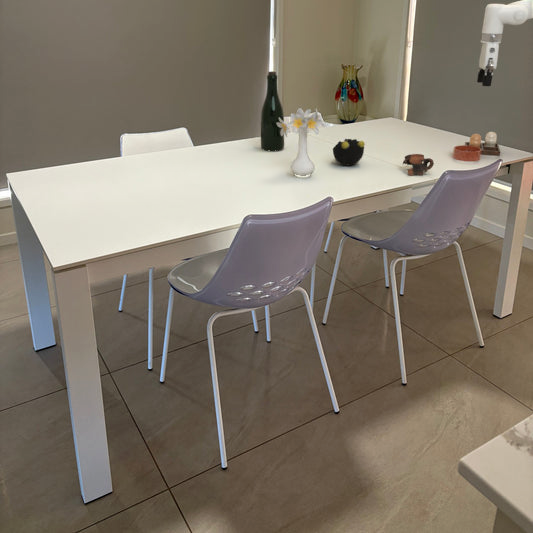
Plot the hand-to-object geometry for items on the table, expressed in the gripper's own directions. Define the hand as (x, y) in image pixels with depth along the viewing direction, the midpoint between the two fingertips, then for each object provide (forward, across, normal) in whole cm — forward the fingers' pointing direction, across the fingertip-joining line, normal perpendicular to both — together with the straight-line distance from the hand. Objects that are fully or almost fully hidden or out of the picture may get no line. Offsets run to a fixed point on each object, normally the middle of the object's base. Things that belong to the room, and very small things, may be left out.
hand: (483, 84), depth 235 cm
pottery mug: (+30, -27, +26) cm, 48 cm away
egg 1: (+28, +4, -1) cm, 29 cm away
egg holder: (+29, +7, -5) cm, 30 cm away
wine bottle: (+31, +5, +85) cm, 91 cm away
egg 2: (+29, +9, -9) cm, 31 cm away
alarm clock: (+30, -17, +52) cm, 63 cm away
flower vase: (+31, -36, +70) cm, 84 cm away
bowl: (+29, -6, +3) cm, 30 cm away
